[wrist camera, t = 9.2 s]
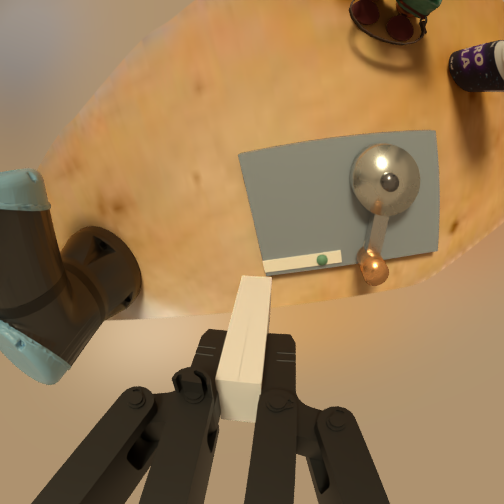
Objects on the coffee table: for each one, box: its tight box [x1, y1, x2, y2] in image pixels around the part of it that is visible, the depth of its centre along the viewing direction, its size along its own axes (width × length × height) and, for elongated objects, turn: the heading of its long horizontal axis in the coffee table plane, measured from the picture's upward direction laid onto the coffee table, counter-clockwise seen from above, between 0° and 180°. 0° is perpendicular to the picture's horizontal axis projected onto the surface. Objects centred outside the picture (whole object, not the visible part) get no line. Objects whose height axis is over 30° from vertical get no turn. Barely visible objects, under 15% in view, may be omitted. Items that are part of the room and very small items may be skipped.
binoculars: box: [349, 0, 442, 45], centre depth 18 cm, size 9×11×10 cm
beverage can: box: [449, 40, 504, 92], centre depth 17 cm, size 6×6×12 cm
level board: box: [238, 130, 440, 276], centre depth 32 cm, size 24×16×2 cm, turn 103°
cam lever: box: [349, 143, 420, 286], centre depth 29 cm, size 16×8×5 cm, turn 178°
